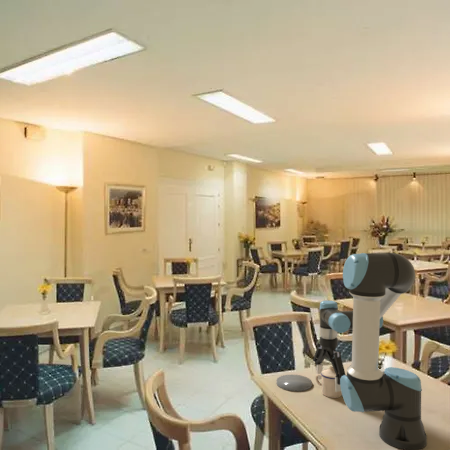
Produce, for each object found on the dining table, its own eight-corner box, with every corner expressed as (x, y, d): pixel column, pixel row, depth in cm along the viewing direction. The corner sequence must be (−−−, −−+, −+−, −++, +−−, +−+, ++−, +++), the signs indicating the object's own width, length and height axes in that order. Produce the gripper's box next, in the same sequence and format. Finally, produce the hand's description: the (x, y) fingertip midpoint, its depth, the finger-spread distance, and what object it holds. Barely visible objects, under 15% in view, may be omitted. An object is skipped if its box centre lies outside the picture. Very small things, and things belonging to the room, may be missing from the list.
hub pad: (318, 387, 184) (318, 385, 184) (287, 393, 178) (287, 390, 178) (299, 375, 199) (299, 372, 199) (270, 380, 193) (270, 377, 193)
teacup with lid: (345, 392, 178) (345, 366, 178) (338, 400, 171) (337, 372, 171) (320, 386, 186) (320, 360, 185) (311, 393, 178) (311, 366, 178)
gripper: (354, 344, 168) (354, 395, 168) (319, 328, 191) (319, 373, 192) (339, 346, 165) (339, 398, 166) (305, 330, 188) (305, 375, 189)
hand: (328, 384), depth 179 cm, fingers open, 13 cm apart
